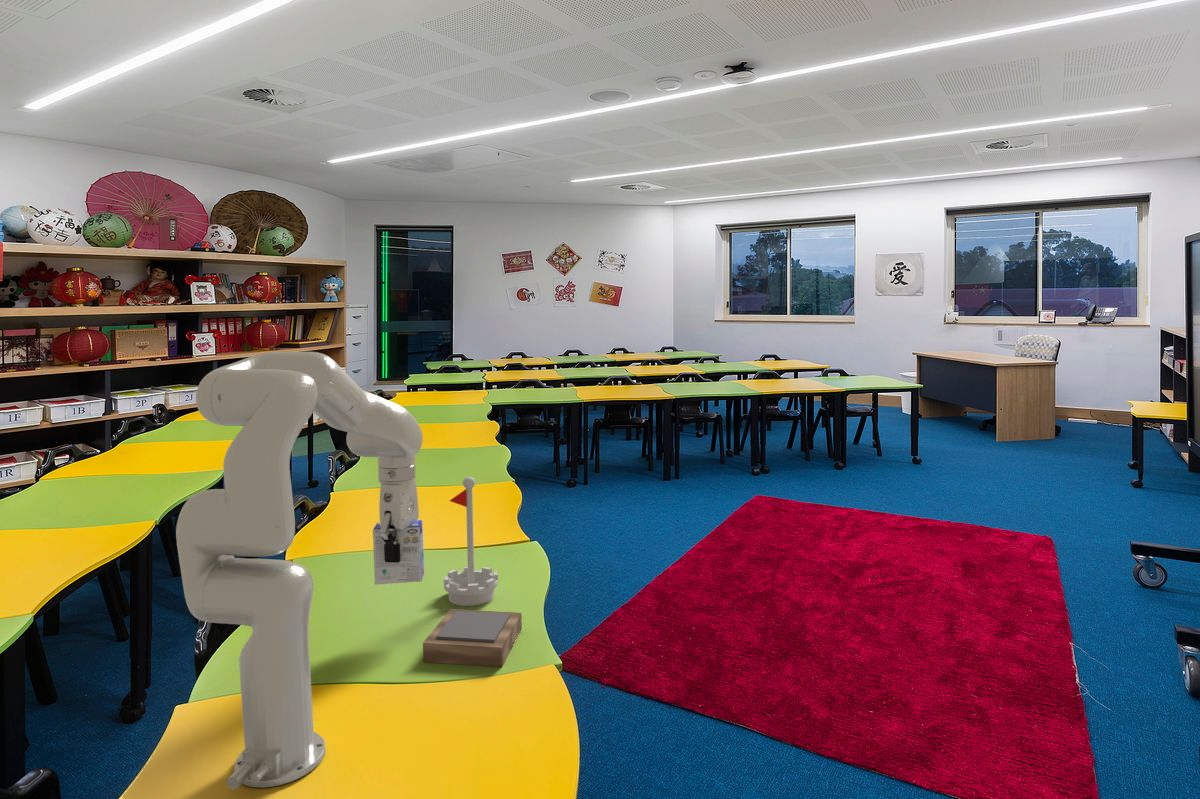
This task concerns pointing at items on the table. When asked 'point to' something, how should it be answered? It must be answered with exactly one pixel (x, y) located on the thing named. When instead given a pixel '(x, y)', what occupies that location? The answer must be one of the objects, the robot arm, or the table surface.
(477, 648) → the walnut plinth
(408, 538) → the ink cartridge box
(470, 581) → the flag stand
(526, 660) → the table surface
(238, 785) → the robot arm
